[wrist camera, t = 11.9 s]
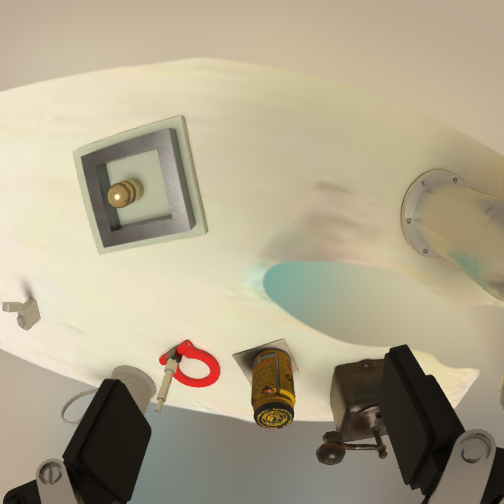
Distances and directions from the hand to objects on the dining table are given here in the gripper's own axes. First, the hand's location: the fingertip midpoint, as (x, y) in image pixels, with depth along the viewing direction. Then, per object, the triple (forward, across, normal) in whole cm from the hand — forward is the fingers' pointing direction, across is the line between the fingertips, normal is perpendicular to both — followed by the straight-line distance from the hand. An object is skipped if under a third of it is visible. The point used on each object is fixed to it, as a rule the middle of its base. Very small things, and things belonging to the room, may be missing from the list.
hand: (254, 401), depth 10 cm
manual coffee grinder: (+31, -10, +32) cm, 45 cm away
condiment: (+31, +3, +24) cm, 39 cm away
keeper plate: (+30, +15, -6) cm, 34 cm away
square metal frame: (+29, +14, -6) cm, 33 cm away
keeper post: (+29, +15, -6) cm, 33 cm away
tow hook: (+31, +15, +23) cm, 41 cm away
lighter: (+31, +43, +8) cm, 53 cm away
